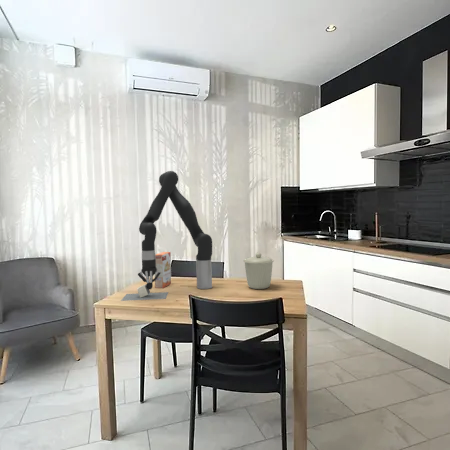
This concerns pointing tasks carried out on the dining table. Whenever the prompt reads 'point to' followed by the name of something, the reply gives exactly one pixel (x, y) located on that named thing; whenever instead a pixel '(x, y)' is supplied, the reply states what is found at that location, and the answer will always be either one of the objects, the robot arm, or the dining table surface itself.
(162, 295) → the mat
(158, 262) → the cracker box
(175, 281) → the dining table surface
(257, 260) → the canister
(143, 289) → the cube
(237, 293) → the dining table surface
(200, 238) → the robot arm
